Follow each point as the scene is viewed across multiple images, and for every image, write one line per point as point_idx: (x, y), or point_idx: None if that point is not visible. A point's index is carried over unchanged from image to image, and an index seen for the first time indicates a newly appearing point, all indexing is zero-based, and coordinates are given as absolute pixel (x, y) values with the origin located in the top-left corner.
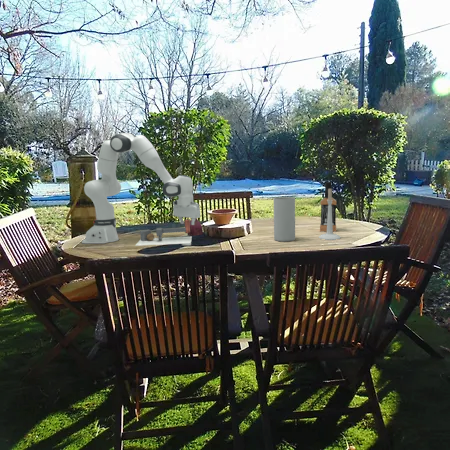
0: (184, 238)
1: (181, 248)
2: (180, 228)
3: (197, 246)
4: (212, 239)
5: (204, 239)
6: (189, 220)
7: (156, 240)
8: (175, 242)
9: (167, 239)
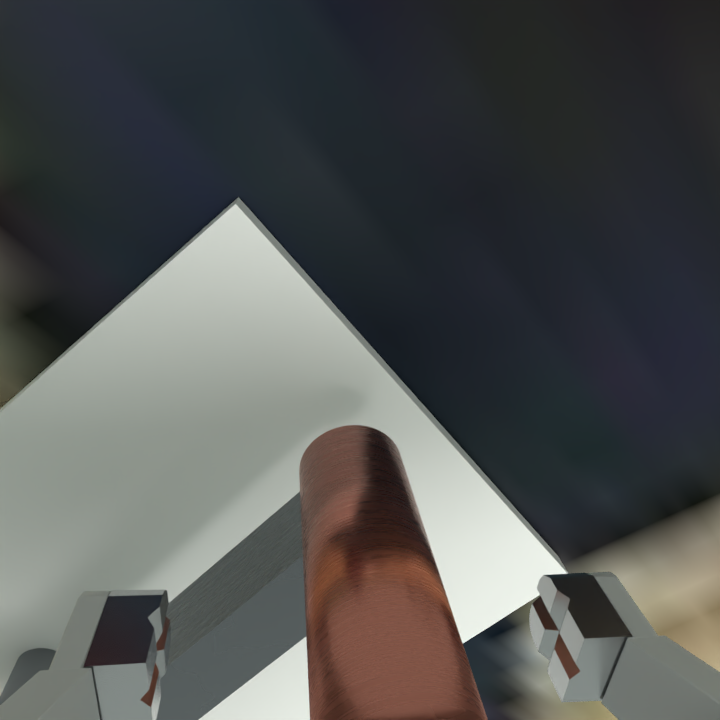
0: (262, 415)
1: (549, 683)
2: (270, 657)
3: (670, 559)
4: (685, 94)
5: (538, 168)
6: (481, 704)
7: (2, 689)
8: None
9: (76, 586)
